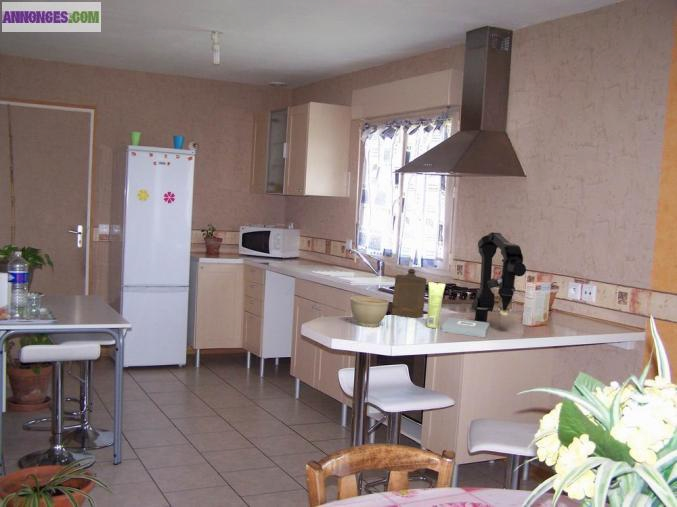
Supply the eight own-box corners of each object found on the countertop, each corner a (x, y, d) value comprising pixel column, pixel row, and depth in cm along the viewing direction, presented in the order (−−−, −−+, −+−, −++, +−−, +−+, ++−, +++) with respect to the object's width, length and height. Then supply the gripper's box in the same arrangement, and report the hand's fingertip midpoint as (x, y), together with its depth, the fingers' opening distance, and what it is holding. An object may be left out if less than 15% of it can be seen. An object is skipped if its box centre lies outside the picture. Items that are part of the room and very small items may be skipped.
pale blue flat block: (448, 323, 320) (449, 317, 320) (489, 329, 316) (489, 322, 315) (441, 331, 299) (442, 324, 299) (484, 337, 294) (485, 330, 294)
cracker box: (536, 323, 348) (541, 280, 346) (547, 325, 344) (552, 282, 342) (520, 324, 338) (525, 281, 337) (531, 327, 334) (536, 283, 332)
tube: (431, 325, 311) (436, 281, 310) (441, 327, 308) (445, 283, 306) (423, 326, 307) (428, 282, 306) (433, 328, 304) (438, 283, 302)
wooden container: (415, 312, 345) (420, 268, 343) (427, 318, 331) (432, 271, 329) (387, 311, 341) (391, 266, 339) (397, 317, 327) (402, 269, 325)
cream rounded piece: (497, 313, 310) (499, 295, 309) (511, 315, 308) (513, 297, 308) (496, 315, 304) (498, 296, 304) (510, 317, 303) (512, 298, 302)
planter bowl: (343, 320, 304) (346, 295, 303) (379, 322, 308) (382, 297, 307) (354, 328, 288) (356, 301, 287) (391, 329, 292) (394, 303, 291)
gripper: (491, 270, 316) (487, 304, 317) (487, 273, 298) (484, 309, 299) (516, 272, 313) (512, 307, 314) (515, 276, 295) (511, 313, 296)
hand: (504, 309), depth 306 cm, fingers closed on cream rounded piece, 6 cm apart
